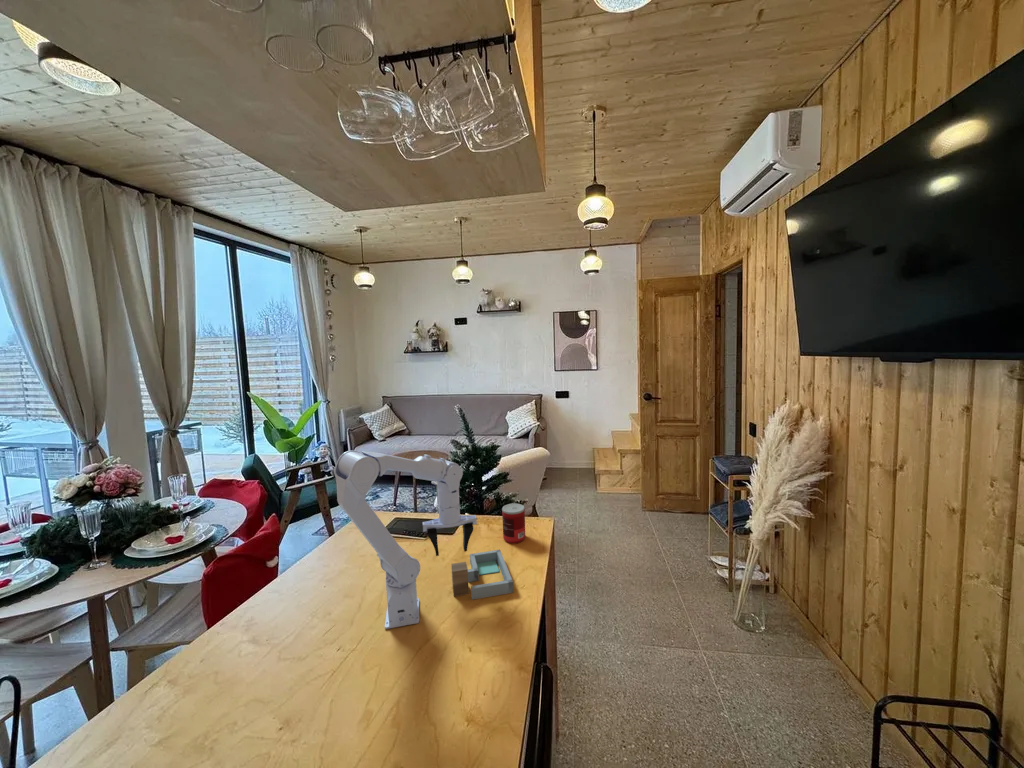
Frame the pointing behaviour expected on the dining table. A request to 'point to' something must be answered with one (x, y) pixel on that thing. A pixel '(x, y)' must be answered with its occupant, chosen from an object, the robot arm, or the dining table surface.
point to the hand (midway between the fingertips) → (451, 551)
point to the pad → (487, 568)
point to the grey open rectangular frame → (489, 588)
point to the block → (460, 579)
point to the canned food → (513, 523)
